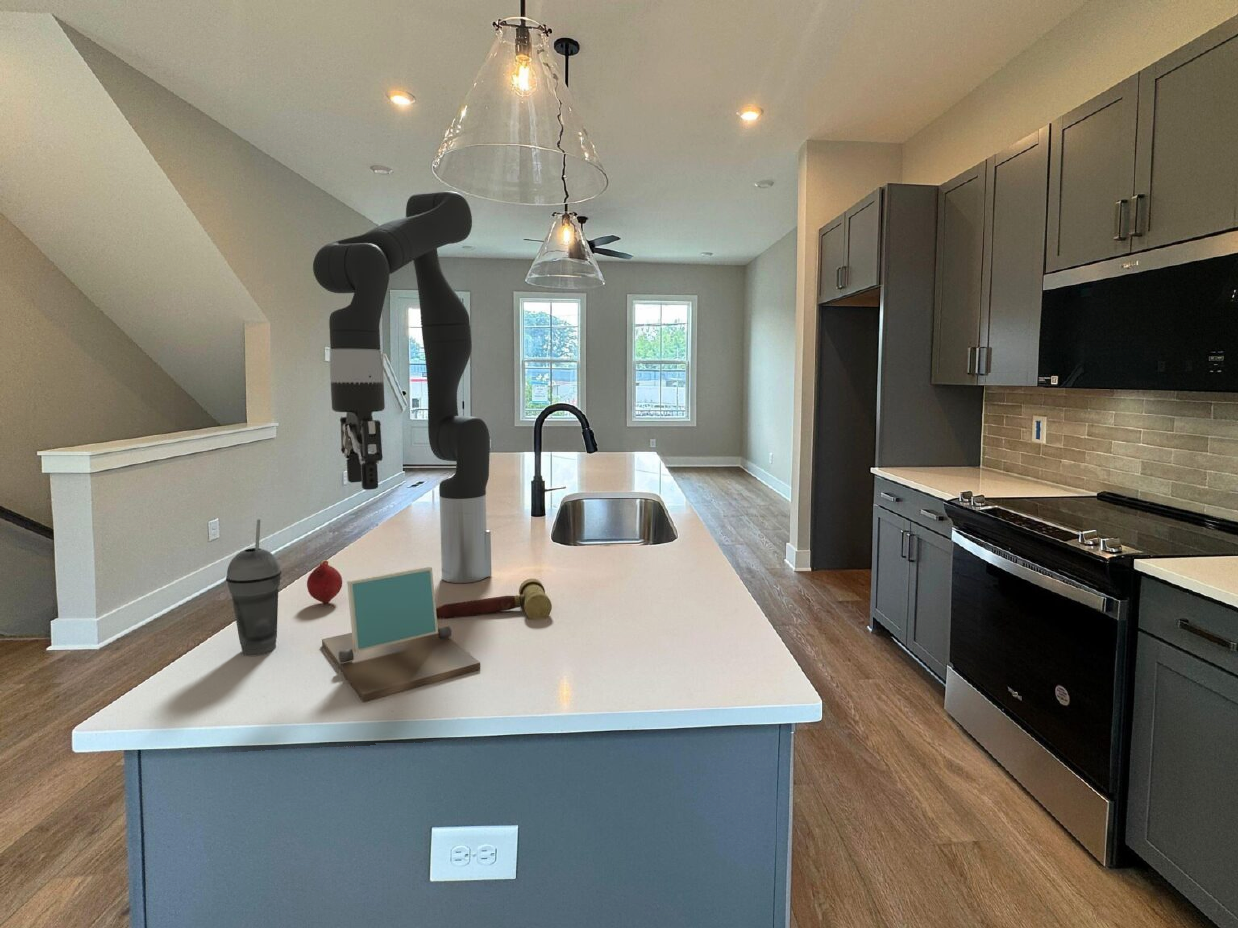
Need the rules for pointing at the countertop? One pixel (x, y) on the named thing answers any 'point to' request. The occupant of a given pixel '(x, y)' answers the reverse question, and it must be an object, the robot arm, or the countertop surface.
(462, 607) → the gavel
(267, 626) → the beverage cup
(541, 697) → the countertop surface
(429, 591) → the tile
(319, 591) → the onion
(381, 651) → the walnut board
